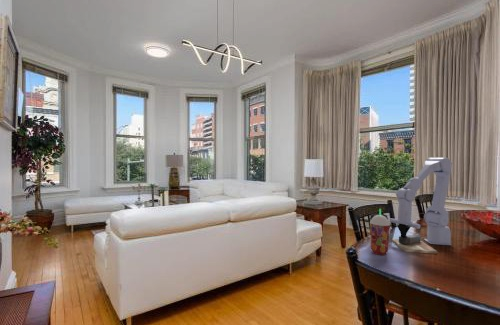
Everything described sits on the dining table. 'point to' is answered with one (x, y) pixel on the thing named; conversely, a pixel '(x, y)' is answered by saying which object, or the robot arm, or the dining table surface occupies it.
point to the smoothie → (379, 234)
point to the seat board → (415, 247)
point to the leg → (409, 239)
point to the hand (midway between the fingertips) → (403, 239)
